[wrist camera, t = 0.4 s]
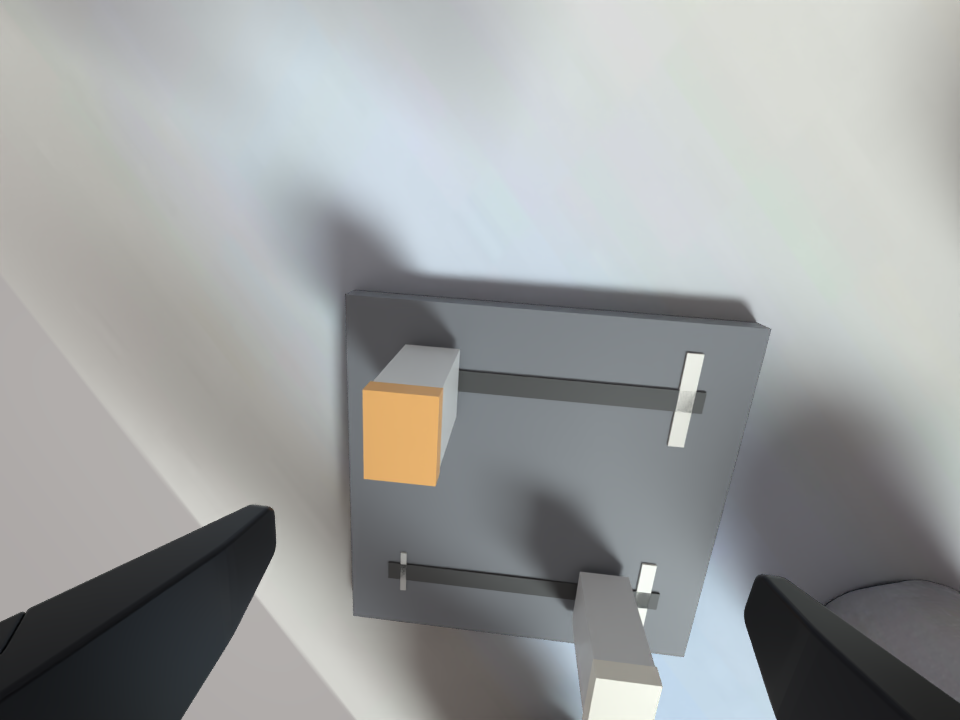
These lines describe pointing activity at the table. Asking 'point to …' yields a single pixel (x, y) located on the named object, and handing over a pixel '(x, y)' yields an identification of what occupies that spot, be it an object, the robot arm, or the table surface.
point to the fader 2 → (613, 651)
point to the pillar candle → (911, 626)
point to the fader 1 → (410, 415)
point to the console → (551, 463)
